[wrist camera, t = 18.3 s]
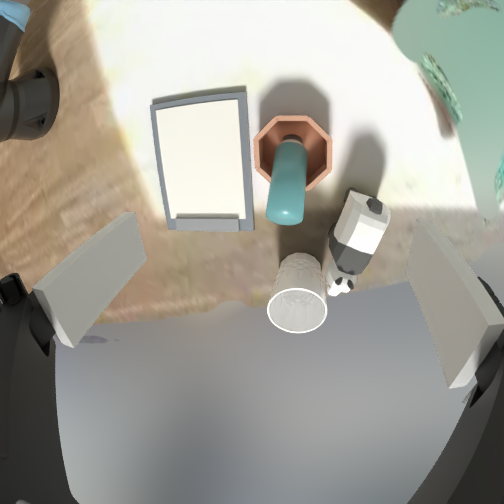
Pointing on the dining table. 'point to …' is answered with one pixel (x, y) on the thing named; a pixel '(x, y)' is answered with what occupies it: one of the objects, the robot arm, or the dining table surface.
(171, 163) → the clipboard
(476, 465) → the robot arm
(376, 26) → the dining table surface
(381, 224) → the giant panda
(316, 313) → the white cup
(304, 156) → the teal cylinder
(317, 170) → the terracotta octagonal bowl
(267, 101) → the dining table surface
